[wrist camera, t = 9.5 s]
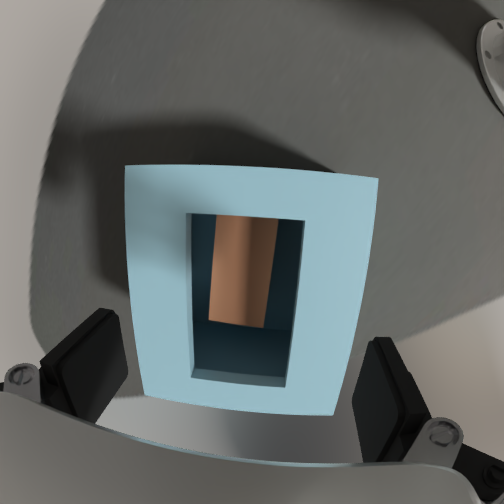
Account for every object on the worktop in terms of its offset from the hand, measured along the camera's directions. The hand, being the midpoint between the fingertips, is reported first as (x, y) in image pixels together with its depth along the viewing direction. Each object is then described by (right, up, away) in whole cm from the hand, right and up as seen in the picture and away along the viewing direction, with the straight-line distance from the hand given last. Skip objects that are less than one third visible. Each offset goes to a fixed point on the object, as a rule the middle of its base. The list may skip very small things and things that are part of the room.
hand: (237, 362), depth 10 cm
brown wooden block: (0, +4, +14) cm, 14 cm away
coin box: (+1, +4, +15) cm, 15 cm away
